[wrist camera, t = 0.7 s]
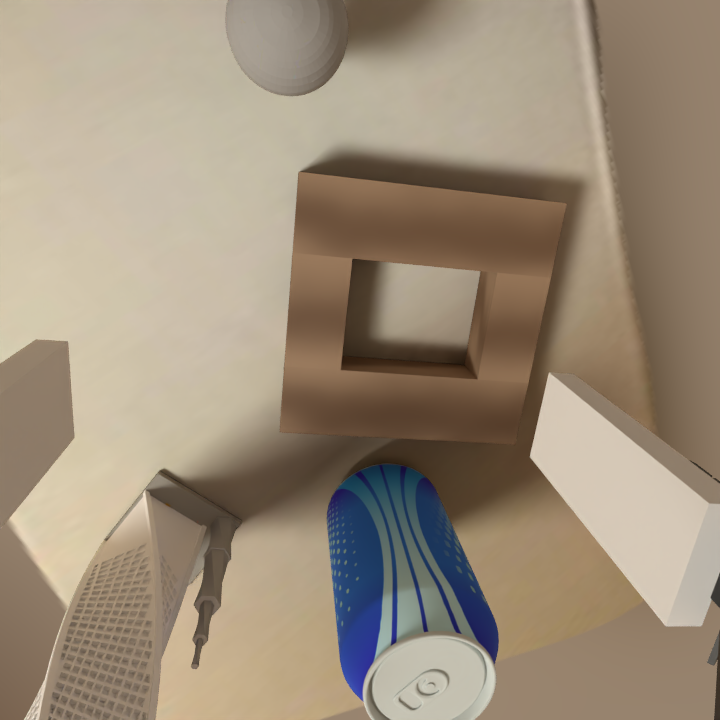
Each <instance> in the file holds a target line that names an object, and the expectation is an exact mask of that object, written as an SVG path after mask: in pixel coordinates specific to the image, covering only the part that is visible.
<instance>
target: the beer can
mask: <svg viewBox="0 0 720 720" xmlns="http://www.w3.org/2000/svg"><path fill="white" fill-rule="evenodd" d="M327 528H328V539H329V549H330V559H331V570H332V580H333V591H334V601H335V612H336V622H337V632H338V643H339V653H340V662H341V667H342V671H343V674H344V677H345V679H346V681H347V683H348V684H349V686H350V688H351V689H352V690H353V692H354V693H355V694H356V695H357V696H358V697H359V698H360V699H361V700H362V701H363V702H364V705H365V708H366V711H367V713H368V715H369V716H370V718H371V719H372V720H475V719H476V718H477V717H478V716H479V715H480V714H481V713H482V712H483V711H484V709H485V708H486V707H487V705H488V704H489V702H490V700H491V699H492V696H493V694H494V691H495V687H496V669H495V665H494V664H495V660H496V657H497V652H498V643H499V640H498V630H497V625H496V622H495V619H494V617H493V614H492V612H491V610H490V608H489V606H488V603H487V601H486V599H485V597H484V595H483V592H482V590H481V588H480V586H479V584H478V581H477V579H476V577H475V575H474V573H473V570H472V568H471V566H470V564H469V562H468V559H467V557H466V555H465V553H464V551H463V548H462V546H461V544H460V542H459V540H458V537H457V535H456V533H455V531H454V529H453V526H452V524H451V522H450V520H449V518H448V515H447V513H446V511H445V509H444V507H443V504H442V502H441V500H440V498H439V496H438V493H437V491H436V489H435V488H434V486H433V485H432V483H431V482H430V481H429V480H428V479H427V478H426V477H425V476H424V475H423V474H421V473H420V472H418V471H416V470H414V469H412V468H410V467H407V466H404V465H399V464H378V465H373V466H369V467H367V468H364V469H362V470H359V471H357V472H356V473H354V474H352V475H351V476H349V477H348V478H347V479H346V480H344V481H343V482H342V483H341V484H340V486H339V487H338V488H337V489H336V491H335V492H334V494H333V496H332V498H331V500H330V503H329V506H328V511H327Z"/></svg>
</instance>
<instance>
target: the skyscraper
mask: <svg viewBox="0 0 720 720" xmlns="http://www.w3.org/2000/svg"><path fill="white" fill-rule="evenodd" d="M240 524H241V520H240V519H238V518H237V517H235V516H233V515H232V514H230V513H228V512H227V511H225V510H223V509H222V508H220V507H218V506H217V505H215V504H213V503H212V502H210V501H209V500H207V499H205V498H204V497H202V496H200V495H199V494H197V493H195V492H194V491H192V490H190V489H189V488H187V487H185V486H184V485H182V484H180V483H179V482H177V481H176V480H174V479H172V478H171V477H169V476H167V475H166V474H164V473H162V472H161V471H159V472H158V473H157V474H156V476H155V477H154V478H153V479H152V481H151V482H150V483H149V484H148V486H147V487H146V488H145V489H144V491H143V492H142V493H141V494H140V496H139V497H138V498H137V499H136V501H135V502H134V503H133V504H132V506H131V507H130V508H129V509H128V511H127V512H126V513H125V514H124V516H123V517H122V518H121V519H120V521H119V522H118V523H117V524H116V526H115V527H114V528H113V529H112V531H111V532H110V533H109V534H108V536H107V537H106V538H105V539H104V541H103V542H102V544H101V546H100V547H99V549H98V551H97V552H96V554H95V555H94V557H93V559H92V560H91V562H90V564H89V566H88V568H87V569H86V571H85V573H84V575H83V577H82V579H81V581H80V582H79V584H78V586H77V589H76V591H75V593H74V595H73V597H72V599H71V601H70V604H69V606H68V609H67V611H66V614H65V616H64V619H63V622H62V624H61V627H60V630H59V633H58V636H57V638H56V642H55V645H54V648H53V652H52V655H51V658H50V662H49V665H48V669H47V673H46V677H45V680H44V682H43V684H42V686H41V689H40V691H39V693H38V695H37V697H36V698H35V700H34V702H33V704H32V706H31V708H30V710H29V711H28V713H27V715H26V717H25V719H24V720H155V718H156V711H157V701H158V692H159V683H160V670H161V659H162V656H163V654H164V651H165V648H166V646H167V643H168V640H169V638H170V635H171V632H172V629H173V626H174V624H175V621H176V618H177V615H178V612H179V610H180V607H181V604H182V601H183V598H184V595H185V592H186V589H187V587H188V585H189V584H190V583H191V582H192V581H193V579H194V578H195V577H196V576H197V575H198V574H199V572H200V571H201V570H202V569H203V568H204V573H203V580H202V585H201V588H200V591H199V593H198V596H197V598H196V600H195V603H194V606H195V608H196V609H197V611H198V613H199V619H198V625H197V628H196V631H195V634H194V637H193V639H192V640H193V642H194V643H195V645H196V648H195V655H194V658H193V662H192V665H191V667H192V669H197V668H198V666H199V659H200V653H201V649H202V646H204V644H205V643H206V642H207V641H208V634H209V624H210V620H211V617H212V615H213V614H214V613H215V612H216V611H217V610H218V609H219V608H220V606H221V592H222V581H223V578H224V574H225V571H226V567H227V564H228V562H229V561H230V560H231V542H232V539H233V536H234V533H235V530H236V529H237V528H238V527H239V525H240Z"/></svg>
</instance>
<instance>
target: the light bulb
mask: <svg viewBox="0 0 720 720" xmlns="http://www.w3.org/2000/svg"><path fill="white" fill-rule="evenodd" d="M225 21H226V31H227V37H228V41H229V44H230V47H231V50H232V53H233V55H234V57H235V59H236V61H237V63H238V64H239V66H240V68H241V69H242V70H243V72H244V73H245V74H246V75H247V76H248V77H249V78H250V79H251V80H252V81H253V82H254V83H256V84H257V85H258V86H260V87H261V88H263V89H265V90H267V91H269V92H272V93H275V94H278V95H283V96H299V95H304V94H307V93H310V92H312V91H315V90H316V89H318V88H320V87H321V86H323V85H324V84H325V83H326V82H327V81H329V79H330V78H331V77H332V76H333V75H334V73H335V72H336V71H337V69H338V67H339V66H340V63H341V61H342V59H343V56H344V53H345V49H346V45H347V40H348V17H347V11H346V7H345V4H344V1H343V0H228V2H227V7H226V20H225Z"/></svg>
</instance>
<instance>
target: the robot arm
mask: <svg viewBox="0 0 720 720" xmlns="http://www.w3.org/2000/svg"><path fill="white" fill-rule="evenodd" d="M73 439H74V424H73V409H72V394H71V379H70V364H69V348H68V342H67V341H52V340H35V341H33V342H32V343H30V344H29V345H27V346H26V347H24V348H23V349H21V350H20V351H18V352H17V353H15V354H14V355H12V356H11V357H10V358H8V359H7V360H5V361H4V362H2V363H1V364H0V529H1V528H2V527H3V525H4V524H5V523H6V522H7V520H8V519H9V518H10V517H11V515H12V514H13V513H14V512H15V511H16V509H17V508H18V507H19V506H20V504H21V503H22V502H23V501H24V499H25V498H26V497H27V496H28V495H29V493H30V492H31V491H32V490H33V488H34V487H35V486H36V485H37V483H38V482H39V481H40V480H41V478H42V477H43V476H44V475H45V474H46V472H47V471H48V470H49V469H50V467H51V466H52V465H53V464H54V462H55V461H56V460H57V459H58V457H59V456H60V455H61V454H62V453H63V451H64V450H65V449H66V448H67V446H68V445H69V444H70V443H71V441H72V440H73ZM530 458H531V459H532V460H533V461H534V463H535V464H536V465H537V466H538V468H539V469H540V470H541V471H542V473H543V474H544V475H545V476H546V478H547V479H548V480H549V481H550V483H551V484H552V485H553V486H554V488H555V489H556V490H557V491H558V493H559V494H560V495H561V496H562V498H563V499H564V500H565V501H566V503H567V504H568V505H569V506H570V508H571V509H572V510H573V511H574V513H575V514H576V515H577V516H578V518H579V519H580V520H581V521H582V523H583V524H584V525H585V526H586V528H587V529H588V530H589V531H590V533H591V534H592V535H593V536H594V538H595V539H596V540H597V541H598V542H599V544H600V545H601V546H602V547H603V549H604V550H605V551H606V552H607V554H608V555H609V556H610V557H611V559H612V560H613V561H614V562H615V564H616V565H617V566H618V567H619V569H620V570H621V571H622V572H623V574H624V575H625V576H626V577H627V579H628V580H629V581H630V582H631V584H632V585H633V586H634V587H635V589H636V590H637V591H638V592H639V594H640V595H641V596H642V597H643V599H644V600H645V601H646V602H647V603H648V605H649V606H650V607H651V609H652V610H653V611H654V612H655V613H656V615H657V616H658V617H659V619H660V620H661V621H662V622H663V623H664V625H665V626H702V624H703V621H704V618H705V616H706V613H707V610H708V608H709V605H710V603H711V600H713V601H714V602H715V603H716V604H717V605H718V607H720V481H718V480H717V479H716V478H712V475H710V474H709V473H708V472H706V471H705V470H704V469H702V468H701V467H700V466H698V465H697V464H696V463H694V462H692V461H690V460H688V459H686V458H685V457H684V456H682V455H681V454H680V453H678V452H677V451H675V450H674V449H673V448H672V447H670V446H669V445H668V444H666V443H665V442H664V441H662V440H661V439H660V438H658V437H657V436H656V435H654V434H653V433H652V432H650V431H649V430H648V429H646V428H645V427H644V426H642V425H641V424H640V423H638V422H637V421H636V420H634V419H633V418H632V417H630V416H629V415H628V414H626V413H625V412H624V411H622V410H621V409H620V408H618V407H617V406H616V405H614V404H613V403H612V402H610V401H609V400H608V399H606V398H605V397H604V396H602V395H601V394H600V393H598V392H597V391H596V390H594V389H593V388H592V387H590V386H589V385H588V384H586V383H585V382H584V381H582V380H581V379H580V378H578V377H577V376H576V375H574V374H566V373H551V372H549V375H548V379H547V383H546V388H545V392H544V397H543V401H542V405H541V410H540V414H539V419H538V423H537V427H536V432H535V436H534V441H533V445H532V449H531V454H530ZM717 660H718V666H717V682H716V699H715V716H714V720H720V631H719V634H718V636H717V639H716V642H715V644H714V647H713V649H712V652H711V654H710V657H709V659H708V662H707V663H709V664H711V665H714V664H715V663H716V661H717Z"/></svg>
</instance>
